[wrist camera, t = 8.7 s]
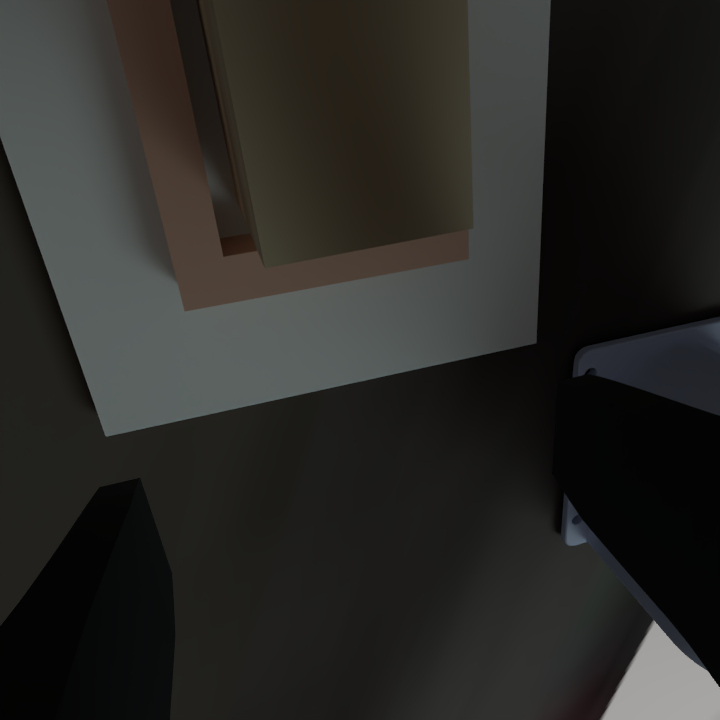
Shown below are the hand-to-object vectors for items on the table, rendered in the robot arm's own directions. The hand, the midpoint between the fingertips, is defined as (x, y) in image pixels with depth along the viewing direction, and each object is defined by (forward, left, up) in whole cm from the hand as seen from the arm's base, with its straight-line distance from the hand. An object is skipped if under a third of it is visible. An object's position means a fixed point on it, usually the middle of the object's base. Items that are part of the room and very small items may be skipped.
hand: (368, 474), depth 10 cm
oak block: (+6, -1, -8) cm, 10 cm away
